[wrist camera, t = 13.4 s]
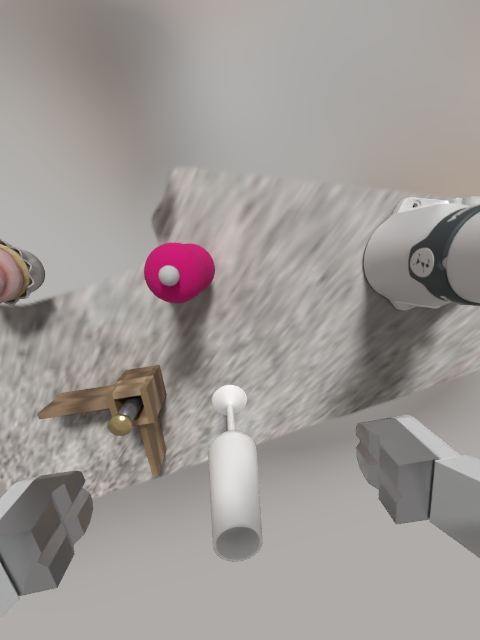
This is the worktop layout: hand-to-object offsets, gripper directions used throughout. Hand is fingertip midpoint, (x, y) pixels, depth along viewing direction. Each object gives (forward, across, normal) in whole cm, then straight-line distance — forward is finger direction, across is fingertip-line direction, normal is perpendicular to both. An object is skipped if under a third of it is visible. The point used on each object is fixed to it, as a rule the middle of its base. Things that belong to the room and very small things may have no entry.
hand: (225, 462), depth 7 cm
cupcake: (+35, +30, -8) cm, 47 cm away
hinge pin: (+32, +16, +14) cm, 38 cm away
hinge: (+35, +22, +20) cm, 46 cm away
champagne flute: (+35, +2, +20) cm, 41 cm away
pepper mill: (+35, +4, -5) cm, 36 cm away
